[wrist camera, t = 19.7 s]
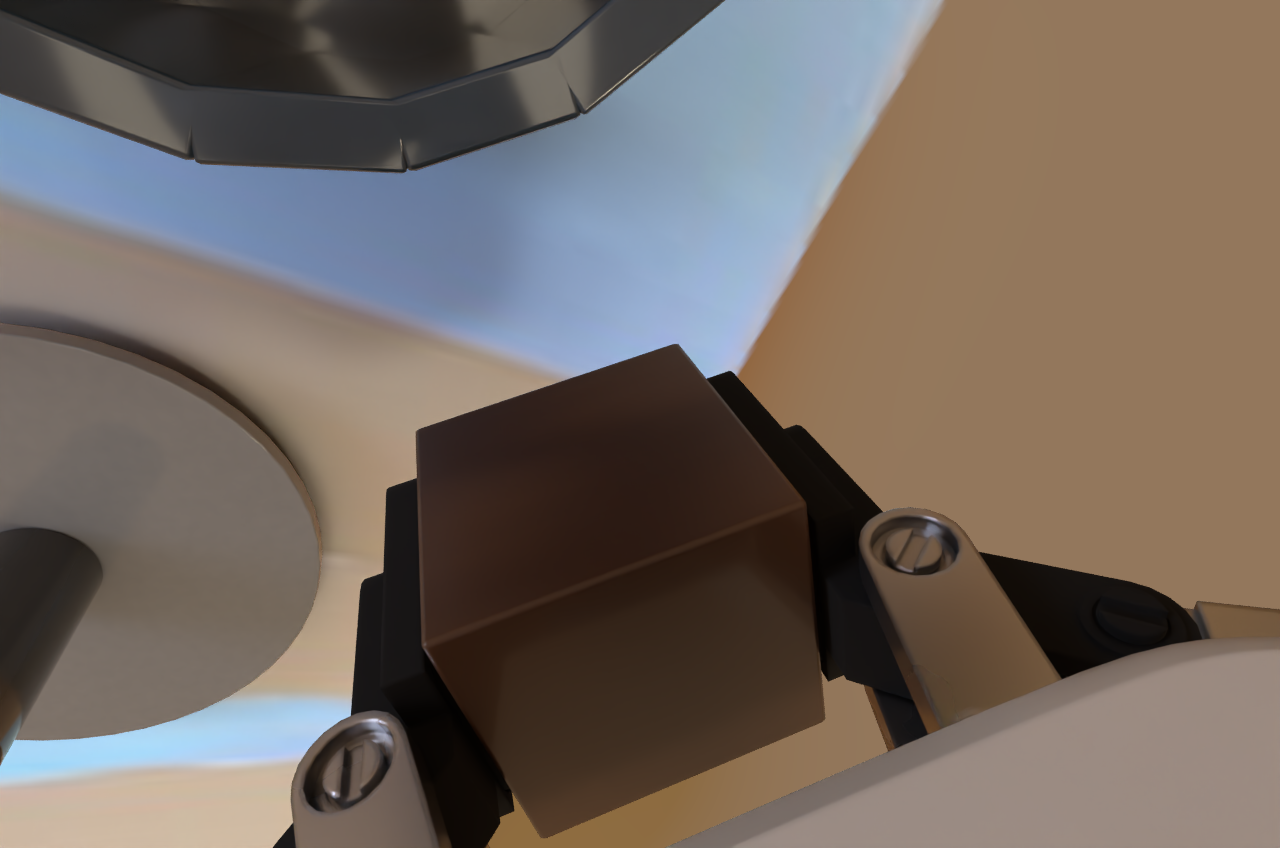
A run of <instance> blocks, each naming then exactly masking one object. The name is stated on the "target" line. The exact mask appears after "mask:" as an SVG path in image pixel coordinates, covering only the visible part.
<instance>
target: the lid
mask: <svg viewBox="0 0 1280 848" xmlns="http://www.w3.org/2000/svg"><path fill="white" fill-rule="evenodd" d="M321 563H322V543H321V531H320V527H319V523H318V519H317V516H316V512H315V508H314V506H313V503H312V501H311V499H310V497H309V495H308V492H307V490H306V488H305V486H304V483H303V482H302V480H301V479H300V477H299V476H298V474H297V473H296V471H295V470H294V468H293V466H292V465H291V463H290V462H289V460H288V459H287V458H286V456H285V455H284V454H283V453H282V452H281V451H280V450H279V448H278V447H277V446H276V445H275V444H274V443H273V442H272V440H271V439H270V438H269V437H268V436H267V435H266V434H265V433H264V432H263V431H262V430H261V429H260V428H258V427H257V426H256V425H255V424H254V423H253V422H252V421H251V420H250V419H248V418H247V417H246V416H245V415H244V414H243V413H242V412H240V411H239V410H238V409H236V408H235V407H233V406H232V405H230V404H229V403H228V402H226V401H225V400H223V399H222V398H221V397H219V396H218V395H216V394H215V393H213V392H212V391H211V390H209V389H207V388H205V387H203V386H202V385H200V384H198V383H196V382H195V381H193V380H191V379H189V378H187V377H186V376H184V375H182V374H180V373H178V372H177V371H175V370H172V369H170V368H168V367H165V366H163V365H161V364H159V363H156V362H154V361H152V360H149V359H147V358H145V357H143V356H140V355H138V354H135V353H132V352H129V351H126V350H123V349H120V348H117V347H114V346H111V345H108V344H105V343H102V342H99V341H96V340H93V339H88V338H84V337H79V336H75V335H71V334H66V333H62V332H58V331H53V330H49V329H43V328H35V327H28V326H20V325H13V324H5V323H0V765H1V763H2V762H3V760H4V758H5V756H6V754H7V753H8V751H9V749H10V747H11V745H12V744H13V742H14V740H64V739H81V738H89V737H98V736H106V735H113V734H119V733H124V732H129V731H134V730H139V729H144V728H148V727H151V726H155V725H158V724H162V723H165V722H169V721H173V720H176V719H178V718H181V717H184V716H186V715H189V714H192V713H194V712H197V711H200V710H202V709H204V708H206V707H208V706H211V705H213V704H215V703H217V702H219V701H221V700H223V699H225V698H227V697H229V696H230V695H232V694H234V693H235V692H237V691H238V690H240V689H242V688H243V687H245V686H246V685H248V684H250V683H251V682H252V681H254V680H255V679H256V678H257V677H259V676H260V675H261V674H262V673H264V672H265V671H266V670H267V669H269V668H270V667H271V666H272V665H273V664H274V663H275V662H276V661H277V660H278V659H279V658H280V657H281V656H282V655H283V654H284V652H285V651H286V650H287V649H288V648H289V647H290V645H291V644H292V643H293V641H294V640H295V638H296V637H297V636H298V634H299V633H300V631H301V630H302V628H303V626H304V624H305V622H306V620H307V618H308V616H309V614H310V612H311V610H312V607H313V604H314V600H315V597H316V593H317V590H318V586H319V580H320V573H321Z"/></svg>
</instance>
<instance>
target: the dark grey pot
mask: <svg viewBox="0 0 1280 848" xmlns="http://www.w3.org/2000/svg"><path fill="white" fill-rule="evenodd" d="M724 1H725V0H0V94H2V95H5V96H8V97H11V98H14V99H16V100H19V101H22V102H25V103H28V104H31V105H33V106H36V107H39V108H42V109H45V110H47V111H50V112H53V113H56V114H59V115H61V116H64V117H67V118H70V119H73V120H75V121H78V122H81V123H84V124H87V125H89V126H92V127H95V128H98V129H101V130H103V131H106V132H109V133H112V134H115V135H117V136H120V137H123V138H126V139H129V140H131V141H134V142H137V143H140V144H143V145H145V146H148V147H151V148H154V149H157V150H159V151H162V152H165V153H168V154H171V155H173V156H176V157H179V158H182V159H185V160H194V159H195V161H196V162H197V163H200V164H206V165H228V166H250V167H272V168H294V169H316V170H338V171H360V172H382V173H405V172H406V171H407V169H409V170H411V171H417V170H420V169H423V168H426V167H429V166H432V165H435V164H438V163H441V162H444V161H448V160H451V159H454V158H457V157H460V156H463V155H466V154H469V153H472V152H475V151H478V150H481V149H485V148H488V147H491V146H494V145H497V144H500V143H503V142H506V141H509V140H512V139H515V138H518V137H522V136H525V135H528V134H531V133H534V132H537V131H540V130H543V129H546V128H549V127H552V126H555V125H559V124H562V123H565V122H568V121H571V120H574V119H576V118H577V117H579V116H580V113H582V114H583V115H584V114H588V113H589V112H590V111H591V110H592V109H594V108H595V107H596V106H597V105H599V104H600V103H601V102H602V101H603V100H605V99H606V98H607V97H608V96H610V95H611V94H612V93H613V92H614V91H616V90H617V89H618V88H619V87H620V86H622V85H623V84H624V83H625V82H627V81H628V80H629V79H630V78H631V77H633V76H634V75H635V74H636V73H638V72H639V71H640V70H641V69H642V68H644V67H645V66H646V65H647V64H648V63H650V62H651V61H652V60H653V59H655V58H656V57H657V56H658V55H659V54H661V53H662V52H663V51H664V50H665V49H667V48H668V47H669V46H670V45H672V44H673V43H674V42H675V41H676V40H678V39H679V38H680V37H681V36H683V35H684V34H685V33H686V32H687V31H689V30H690V29H691V28H692V27H693V26H695V25H696V24H697V23H698V22H700V21H701V20H702V19H703V18H704V17H706V16H707V15H708V14H709V13H711V12H712V11H713V10H714V9H715V8H717V7H718V6H719V5H720V4H721V3H723V2H724Z"/></svg>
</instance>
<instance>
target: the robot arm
mask: <svg viewBox="0 0 1280 848" xmlns="http://www.w3.org/2000/svg"><path fill="white" fill-rule="evenodd" d="M707 380H708V382H709V383H710V384H711V385H712V386H713V388H714V389H715V390H716V391H717V393H718V394H719V395H720V396H721V398H722V399H723V400H724V401H725V403H726V404H727V405H728V406H729V408H730V409H731V410H732V411H733V412H734V414H735V415H736V416H737V417H738V419H739V420H740V421H741V422H742V424H743V425H744V426H745V427H746V429H747V430H748V431H749V432H750V434H751V435H752V436H753V437H754V438H755V440H756V441H757V442H758V443H759V445H760V446H761V447H762V448H763V450H764V451H765V452H766V453H767V455H768V456H769V457H770V458H771V459H772V461H773V462H774V463H775V464H776V466H777V467H778V468H779V469H780V471H781V472H782V473H783V474H784V476H785V477H786V478H787V479H788V481H789V482H790V483H791V484H792V485H793V487H794V488H795V489H796V490H797V492H798V493H799V494H800V495H801V497H802V498H803V499H804V500H805V502H806V505H807V516H808V527H809V539H810V550H811V561H812V573H813V584H814V595H815V607H816V618H817V629H818V640H819V652H820V663H821V671H822V672H823V674H824V675H825V677H826V679H827V680H828V681H831V680H833V679H836V678H838V677H840V676H843V675H844V676H845V678H846V679H847V680H849V681H853V682H856V683H859V684H863V685H864V687H865V691H866V694H867V696H868V699H869V702H870V704H871V707H872V709H873V712H874V715H875V717H876V720H877V723H878V725H879V728H880V731H881V733H882V736H883V739H884V741H885V744H886V746H887V749H888V752H887V753H884V754H882V755H879V756H877V757H875V758H872V759H870V760H868V761H866V762H863V763H861V764H858V765H856V766H854V767H852V768H849V769H847V770H844V771H842V772H840V773H837V774H835V775H832V776H830V777H828V778H825V779H823V780H821V781H818V782H816V783H814V784H812V785H809V786H807V787H804V788H802V789H800V790H798V791H795V792H793V793H791V794H788V795H786V796H784V797H781V798H779V799H777V800H774V801H772V802H770V803H767V804H765V805H763V806H761V807H758V808H756V809H753V810H751V811H749V812H747V813H744V814H742V815H740V816H737V817H735V818H733V819H730V820H728V821H726V822H723V823H721V824H719V825H717V826H714V827H712V828H709V829H707V830H705V831H703V832H700V833H698V834H696V835H694V836H691V837H689V838H686V839H684V840H682V841H679V842H677V843H675V844H673V845H670V846H668V847H666V848H1280V610H1279V609H1270V608H1260V607H1250V606H1241V605H1231V604H1221V603H1211V602H1201V601H1197V602H1196V605H1195V607H1194V609H1186V608H1182V607H1181V606H1180V605H1178V604H1177V603H1176V602H1175V601H1173V600H1172V599H1171V598H1169V597H1167V596H1166V595H1164V594H1162V593H1160V592H1157V591H1155V590H1154V589H1152V588H1150V587H1146V586H1143V585H1139V584H1136V583H1132V582H1129V581H1124V580H1119V579H1114V578H1109V577H1103V576H1098V575H1094V574H1089V573H1083V572H1079V571H1073V570H1068V569H1063V568H1058V567H1052V566H1048V565H1043V564H1038V563H1033V562H1028V561H1023V560H1018V559H1013V558H1007V557H1003V556H997V555H992V554H987V553H982V552H978V550H977V549H976V548H975V546H974V544H973V543H972V541H971V540H970V538H969V537H968V535H967V534H966V533H965V531H964V530H963V529H962V528H961V527H960V526H959V525H958V524H957V523H956V522H954V521H953V520H951V519H949V518H947V517H946V516H944V515H942V514H939V513H936V512H933V511H930V510H927V509H920V508H911V507H910V508H897V509H892V510H889V511H886V512H883V511H882V510H881V509H880V508H879V507H878V506H877V505H876V504H875V503H874V502H873V501H872V500H871V499H870V498H869V496H867V494H866V493H865V492H864V491H863V490H862V489H861V488H860V487H859V486H858V485H857V484H856V483H855V482H854V481H853V479H852V478H851V477H850V476H849V475H848V474H847V473H846V472H845V471H844V470H843V469H842V468H841V467H840V466H839V465H838V464H837V463H836V461H835V460H834V459H833V458H832V457H831V456H830V455H829V454H828V453H827V452H826V451H825V450H824V449H823V448H822V447H821V446H820V444H819V443H817V441H816V440H815V439H814V438H813V437H812V436H811V435H810V434H809V433H808V432H807V431H806V430H805V429H804V428H803V427H802V426H799V425H795V426H791V427H789V428H786V429H783V428H782V427H781V426H780V425H779V424H778V422H777V421H776V420H775V419H774V418H773V417H772V416H771V415H770V413H769V412H768V411H767V410H766V409H765V408H764V407H763V406H762V405H761V403H760V402H759V401H758V400H757V399H756V398H755V397H754V395H753V394H752V393H751V392H750V391H749V390H748V389H747V388H746V387H745V385H744V384H743V383H742V382H741V381H740V380H739V379H738V378H737V376H736V375H735V374H734V373H733V372H731V371H728V372H725V373H722V374H719V375H716V376H713V377H710V378H707ZM291 808H292V816H293V823H292V825H291V826H290V827H289V828H288V829H287V831H286V832H285V833H284V834H283V836H282V837H281V838H280V839H279V840H278V842H277V843H276V844H275V845H274V847H273V848H490V847H489V845H488V842H489V840H490V839H491V837H492V836H493V834H494V833H495V831H496V829H497V828H498V826H499V824H500V817H501V816H504V815H506V814H509V813H511V812H513V811H514V805H513V797H512V791H511V789H510V788H509V786H508V784H507V783H506V781H505V780H504V778H503V776H502V775H501V773H500V772H499V770H498V768H497V767H496V765H495V764H494V762H493V760H492V759H491V757H490V756H489V754H488V752H487V751H486V749H485V748H484V746H483V744H482V743H481V741H480V740H479V738H478V736H477V735H476V733H475V732H474V730H473V728H472V727H471V725H470V723H469V722H468V720H467V719H466V717H465V715H464V714H463V712H462V711H461V709H460V707H459V706H458V704H457V703H456V701H455V699H454V698H453V696H452V695H451V693H450V691H449V690H448V688H447V687H446V685H445V683H444V682H443V680H442V679H441V677H440V675H439V674H438V672H437V671H436V669H435V667H434V666H433V664H432V663H431V661H430V659H429V658H428V656H427V655H426V653H425V651H424V650H423V648H422V644H421V608H420V572H419V536H418V500H417V478H416V479H413V480H410V481H407V482H404V483H401V484H398V485H395V486H392V487H389V488H388V489H387V492H386V516H385V544H384V572H383V573H381V574H378V575H376V576H373V577H370V578H367V579H365V580H364V581H363V582H362V584H361V589H360V600H359V613H358V627H357V640H356V654H355V667H354V681H353V694H352V708H351V716H350V717H348V718H346V719H343V720H341V721H340V722H338V723H337V724H335V725H334V726H333V727H331V728H330V729H328V730H327V731H326V732H324V733H323V734H322V735H321V736H320V737H319V738H318V739H317V740H316V741H315V743H314V744H313V745H312V746H311V747H310V748H309V749H308V751H307V752H306V754H305V755H304V757H303V759H302V760H301V762H300V763H299V765H298V767H297V770H296V773H295V775H294V778H293V781H292V787H291Z"/></svg>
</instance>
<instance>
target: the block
mask: <svg viewBox="0 0 1280 848" xmlns="http://www.w3.org/2000/svg"><path fill="white" fill-rule="evenodd" d="M416 464H417V500H418V536H419V572H420V608H421V644H422V648H423V650H424V651H425V653H426V655H427V656H428V658H429V659H430V661H431V663H432V664H433V666H434V667H435V669H436V671H437V672H438V674H439V675H440V677H441V679H442V680H443V682H444V683H445V685H446V687H447V688H448V690H449V691H450V693H451V695H452V696H453V698H454V699H455V701H456V703H457V704H458V706H459V707H460V709H461V711H462V712H463V714H464V715H465V717H466V719H467V720H468V722H469V723H470V725H471V727H472V728H473V730H474V732H475V733H476V735H477V736H478V738H479V740H480V741H481V743H482V744H483V746H484V748H485V749H486V751H487V752H488V754H489V756H490V757H491V759H492V760H493V762H494V764H495V765H496V767H497V768H498V770H499V772H500V773H501V775H502V776H503V778H504V780H505V781H506V783H507V784H508V786H509V788H510V789H511V791H512V792H513V794H514V796H515V797H516V799H517V800H518V802H519V804H520V805H521V807H522V808H523V810H524V812H525V813H526V815H527V816H528V818H529V820H530V821H531V823H532V824H533V826H534V828H535V829H536V831H537V833H538V834H539V836H540V837H541V838H548V837H550V836H553V835H555V834H557V833H559V832H562V831H564V830H567V829H569V828H572V827H574V826H576V825H579V824H581V823H583V822H586V821H588V820H590V819H593V818H595V817H598V816H600V815H602V814H605V813H607V812H610V811H612V810H614V809H617V808H619V807H621V806H624V805H626V804H629V803H631V802H633V801H636V800H638V799H640V798H643V797H645V796H647V795H650V794H652V793H655V792H657V791H660V790H662V789H664V788H667V787H669V786H671V785H674V784H676V783H678V782H681V781H683V780H686V779H688V778H690V777H693V776H695V775H698V774H700V773H702V772H704V771H707V770H709V769H712V768H714V767H717V766H719V765H721V764H724V763H726V762H728V761H731V760H733V759H736V758H738V757H740V756H742V755H745V754H747V753H750V752H752V751H755V750H757V749H759V748H762V747H764V746H766V745H769V744H771V743H774V742H776V741H778V740H781V739H783V738H785V737H788V736H790V735H793V734H795V733H797V732H800V731H802V730H804V729H807V728H809V727H811V726H814V725H816V724H819V723H821V722H823V720H825V708H824V698H823V686H822V674H821V663H820V652H819V640H818V629H817V618H816V607H815V595H814V584H813V573H812V561H811V550H810V539H809V527H808V516H807V505H806V502H805V500H804V499H803V498H802V497H801V495H800V494H799V493H798V492H797V490H796V489H795V488H794V487H793V485H792V484H791V483H790V482H789V481H788V479H787V478H786V477H785V476H784V474H783V473H782V472H781V471H780V469H779V468H778V467H777V466H776V464H775V463H774V462H773V461H772V459H771V458H770V457H769V456H768V455H767V453H766V452H765V451H764V450H763V448H762V447H761V446H760V445H759V443H758V442H757V441H756V440H755V438H754V437H753V436H752V435H751V434H750V432H749V431H748V430H747V429H746V427H745V426H744V425H743V424H742V422H741V421H740V420H739V419H738V417H737V416H736V415H735V414H734V412H733V411H732V410H731V409H730V408H729V406H728V405H727V404H726V403H725V401H724V400H723V399H722V398H721V396H720V395H719V394H718V393H717V391H716V390H715V389H714V388H713V386H712V385H711V384H710V383H709V382H708V380H707V379H706V378H705V377H704V375H703V374H702V373H701V372H700V370H699V369H698V368H697V367H696V365H695V364H694V363H693V362H692V361H691V359H690V358H689V357H688V356H687V354H686V353H685V352H684V351H683V349H682V348H681V347H680V346H679V344H672V345H669V346H666V347H663V348H660V349H657V350H654V351H651V352H648V353H645V354H642V355H639V356H636V357H633V358H630V359H627V360H624V361H621V362H618V363H615V364H612V365H609V366H606V367H603V368H600V369H597V370H594V371H591V372H588V373H585V374H582V375H579V376H576V377H573V378H570V379H567V380H564V381H561V382H558V383H555V384H552V385H549V386H546V387H543V388H540V389H537V390H534V391H531V392H528V393H525V394H522V395H519V396H516V397H513V398H510V399H507V400H504V401H501V402H498V403H496V404H493V405H490V406H487V407H484V408H481V409H478V410H475V411H472V412H469V413H466V414H463V415H460V416H457V417H454V418H451V419H448V420H445V421H442V422H439V423H436V424H433V425H430V426H427V427H424V428H421V429H419V430H417V431H416Z"/></svg>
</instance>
